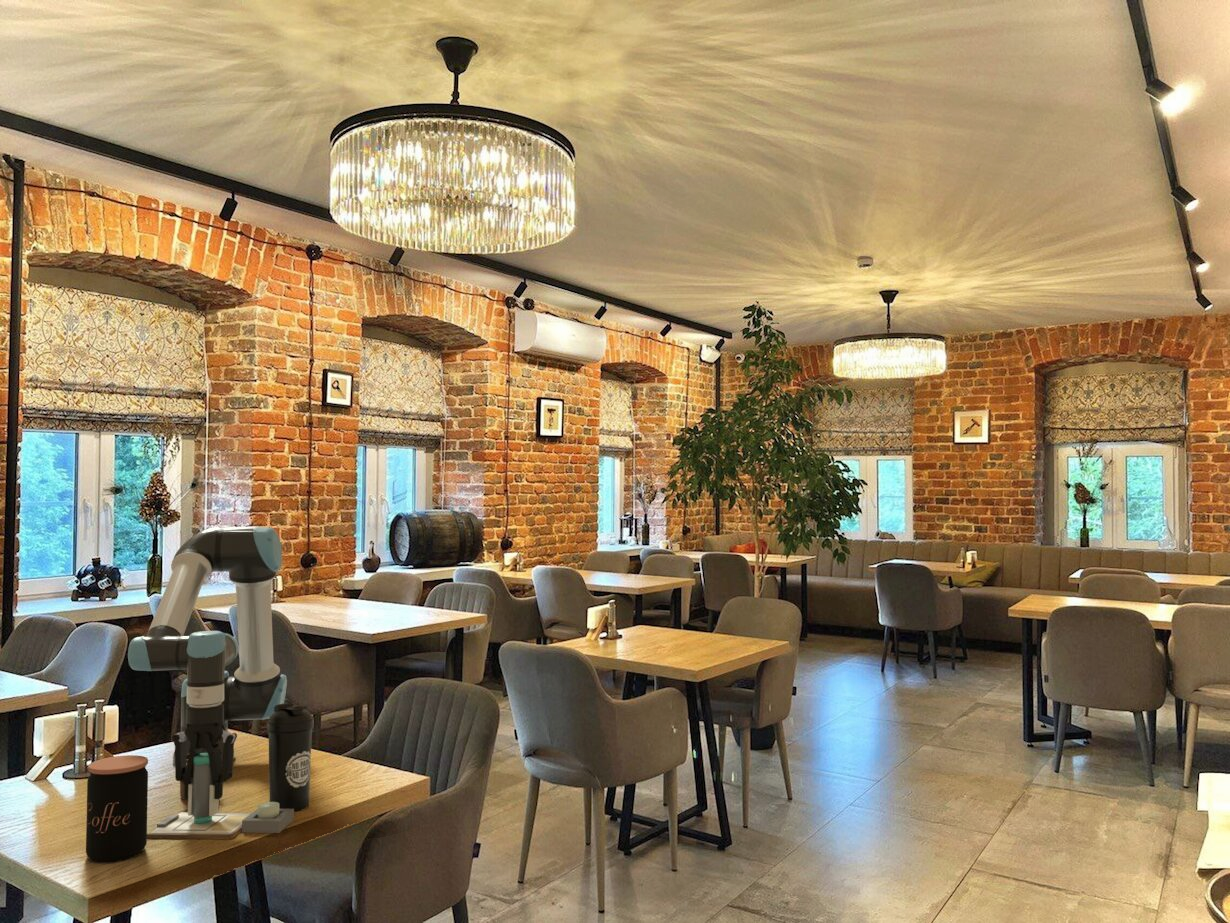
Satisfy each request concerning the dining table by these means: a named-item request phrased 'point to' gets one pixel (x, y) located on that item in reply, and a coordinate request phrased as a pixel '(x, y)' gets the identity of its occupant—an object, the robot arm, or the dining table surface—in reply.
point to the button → (268, 810)
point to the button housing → (267, 822)
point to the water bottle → (290, 756)
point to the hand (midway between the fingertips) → (203, 813)
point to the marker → (201, 788)
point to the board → (199, 827)
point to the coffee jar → (116, 808)
